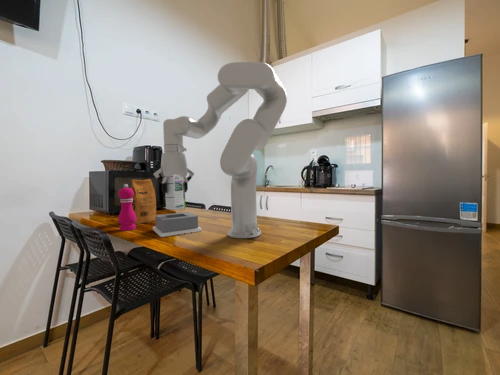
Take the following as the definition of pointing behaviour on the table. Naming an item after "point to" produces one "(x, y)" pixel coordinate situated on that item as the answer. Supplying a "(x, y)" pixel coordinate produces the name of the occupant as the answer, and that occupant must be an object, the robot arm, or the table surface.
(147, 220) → the coffee package
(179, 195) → the syrup box
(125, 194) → the pepper mill
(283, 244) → the table surface
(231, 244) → the table surface
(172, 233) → the socket
